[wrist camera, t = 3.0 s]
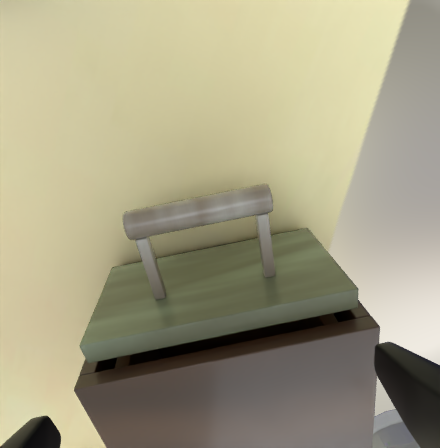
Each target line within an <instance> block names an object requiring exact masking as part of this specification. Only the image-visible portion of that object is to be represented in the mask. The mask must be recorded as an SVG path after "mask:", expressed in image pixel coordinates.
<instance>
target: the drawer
mask: <svg viewBox="0 0 440 448" xmlns="http://www.w3.org/2000/svg"><path fill="white" fill-rule="evenodd" d="M272 210H273V200H272V194H271V191H270V188H269V186H268V184H261V185H256V186H251V187H246V188H241V189H236V190H231V191H226V192H221V193H216V194H211V195H206V196H201V197H196V198H191V199H186V200H181V201H176V202H171V203H166V204H161V205H156V206H151V207H146V208H141V209H136V210H131V211H126V212H125V213H124V214H123V225H124V229H125V232H126V235H127V237H128V238H129V239H130V240H134V239H136V244H137V247H138V250H139V253H140V256H141V259H142V262H138V263H133V264H128V265H123V266H118V267H113V268H112V269H111V272H110V274H109V277H108V279H107V281H106V284H105V286H104V289H103V291H102V293H101V296H100V298H99V300H98V303H97V305H96V308H95V310H94V312H93V315H92V317H91V320H90V322H89V324H88V327H87V329H86V331H85V334H84V336H83V339H82V341H81V343H80V348H81V350H82V352H83V354H84V356H85V358H86V360H87V362H88V363H92V362H97V361H102V360H107V359H112V358H117V361H116V364H115V368H120V367H125V366H130V365H135V364H140V363H145V362H149V361H154V360H159V359H164V358H169V357H174V356H178V355H183V354H188V353H193V352H198V351H203V350H208V349H212V348H217V347H222V346H227V345H232V344H237V343H241V342H246V341H251V340H256V339H261V338H266V337H271V336H275V335H280V334H285V333H290V332H295V331H300V330H305V329H309V328H314V327H319V326H324V325H329V324H334V323H338V321H337V319H336V318H335V316H334V315H333V313H335V312H340V311H345V310H350V309H355V308H358V288H357V287H356V285H355V284H354V283H353V282H352V281H351V279H350V278H349V277H348V276H347V275H346V274H345V272H344V271H343V270H342V269H341V267H340V266H339V265H338V264H337V263H336V262H335V260H334V259H333V258H332V257H331V256H330V254H329V253H328V252H327V251H326V250H325V248H324V247H323V246H322V245H321V244H320V242H319V241H318V240H317V239H316V238H315V236H314V235H313V234H312V233H311V232H310V230H309V229H308V228H306V229H301V230H296V231H291V232H286V233H281V234H276V235H271V232H270V223H269V215H268V212H271V211H272ZM254 215H255V220H256V227H257V234H258V238H256V239H251V240H246V241H241V242H237V243H232V244H227V245H222V246H217V247H212V248H207V249H202V250H197V251H192V252H187V253H182V254H177V255H172V256H167V257H162V258H157V259H156V256H155V253H154V250H153V247H152V243H151V240H150V237H149V236H154V235H159V234H164V233H169V232H174V231H179V230H184V229H189V228H194V227H199V226H204V225H209V224H214V223H219V222H224V221H229V220H234V219H239V218H244V217H249V216H254ZM115 368H114V369H115Z"/></svg>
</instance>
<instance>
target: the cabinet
mask: <svg viewBox="0 0 440 448" xmlns="http://www.w3.org/2000/svg"><path fill="white" fill-rule="evenodd" d="M333 315H334V316H335V318H336V319H337V321H338V323H334V324H329V325H324V326H319V327H314V328H309V329H305V330H300V331H295V332H290V333H285V334H280V335H275V336H271V337H266V338H261V339H256V340H251V341H246V342H241V343H237V344H232V345H227V346H222V347H217V348H212V349H208V350H203V351H198V352H193V353H188V354H183V355H178V356H174V357H169V358H164V359H159V360H154V361H149V362H145V363H140V364H135V365H130V366H125V367H120V368H115V364H116V361H117V358H112V359H107V360H102V361H97V362H92V363H88V362H87V360H86V359H85V362H84V364H83V367H82V370H81V372H80V376H79V378H78V380H77V383H76V386H75V388H74V391H75V393H76V395H77V397H78V398H79V400H80V402H81V404H82V405H83V407H84V409H85V411H86V412H87V414H88V416H89V418H90V419H91V421H92V423H93V425H94V426H95V428H96V430H97V432H98V433H99V435H100V437H101V439H102V440H103V442H104V444H105V446H106V447H107V448H372V444H373V429H374V413H375V412H374V411H375V396H376V381H377V374H376V372H375V368H374V354H375V346H376V345H377V344H379V333H380V326H379V325H378V324H377V323H376V321H375V320H374V319H373V318H372V317H371V316H370V314H369V313H368V312H367V310H366V309H365V308H364V307H363V305H362V304H361V303H360V301H359V300H358V308H355V309H350V310H345V311H340V312H335V313H333ZM114 368H115V369H114Z"/></svg>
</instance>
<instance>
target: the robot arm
mask: <svg viewBox="0 0 440 448" xmlns="http://www.w3.org/2000/svg"><path fill="white" fill-rule="evenodd" d="M374 368H375V372H376V374H377V376H378V378H379V380H380V382H381V383H382V385H383V387H384V388H385V390H386V392H387V394H388V396H389V398H390V399H391V401H392V403H393V405H394V406H395V408H396V410H397V412H398V413H399V415H400V417H401V419H402V421H403V422H404V424H405V426H406V427H407V429H408V430H409V432H410V433H411V435H412V436H413V438H414V439H415V441H416V442H417V444H418V445H419V447H420V448H440V365H438V364H436V363H434V362H432V361H430V360H428V359H425V358H423V357H421V356H419V355H417V354H415V353H413V352H411V351H409V350H407V349H404V348H403V347H400V346H398V345H396V344H394V343H391V342H385V343H381V344H377V345H376V346H375V354H374ZM60 444H61V436H60V432H59V431H58V429H57V428H56V426H55V425H54V423H53V422H52V420H51V419H50V418H49V417H48V416H41V417H36V418H33V419H31V420H30V421H28V422H27V423H26V424H25V425H24V426H23V427H22V428H20V429H19V430H18V431H17V432H16V433H15V434H14V435H13V436H12V437H10V438H9V439H8V440H7V441H6V442H5V443H4V444H3V445H2V446H0V448H60Z"/></svg>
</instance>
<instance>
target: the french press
mask: <svg viewBox="0 0 440 448" xmlns="http://www.w3.org/2000/svg"><path fill="white" fill-rule="evenodd" d="M372 448H420V447H419V445H418V444H417V442H416V441H415V439H414V438H413V436H412V435H411V433H410V432H409V430H408V429H407V427H406V426H405V424H404V422H403V421H402V419H401V417H400V415H399V413H398V412H397V410H396V409H395V410H390V411H386V412H383V413H381V414H379V415H377V416H375V417H374V429H373V444H372Z"/></svg>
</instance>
